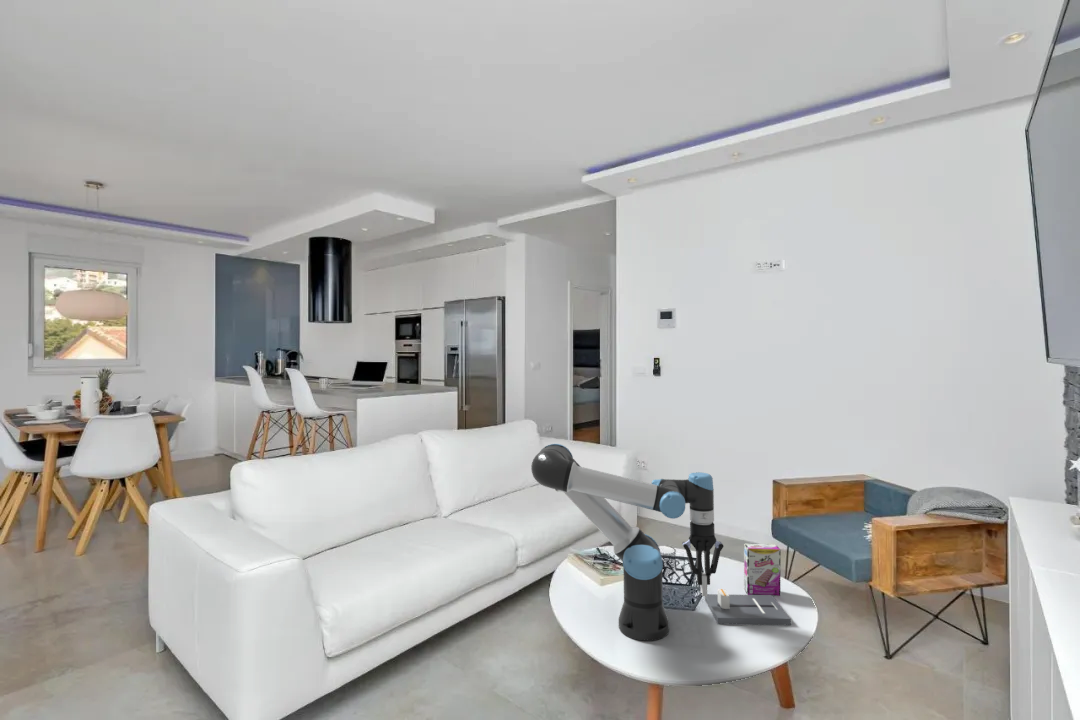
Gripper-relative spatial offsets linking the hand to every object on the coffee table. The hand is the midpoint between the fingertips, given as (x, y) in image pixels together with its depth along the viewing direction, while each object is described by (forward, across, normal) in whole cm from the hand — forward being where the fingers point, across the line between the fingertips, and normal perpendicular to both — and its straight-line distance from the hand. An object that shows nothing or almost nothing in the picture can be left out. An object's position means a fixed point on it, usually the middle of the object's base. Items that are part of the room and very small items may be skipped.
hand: (703, 594), depth 171 cm
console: (+6, +13, 0) cm, 14 cm away
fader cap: (+4, +6, 0) cm, 7 cm away
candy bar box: (+6, +23, +14) cm, 28 cm away
